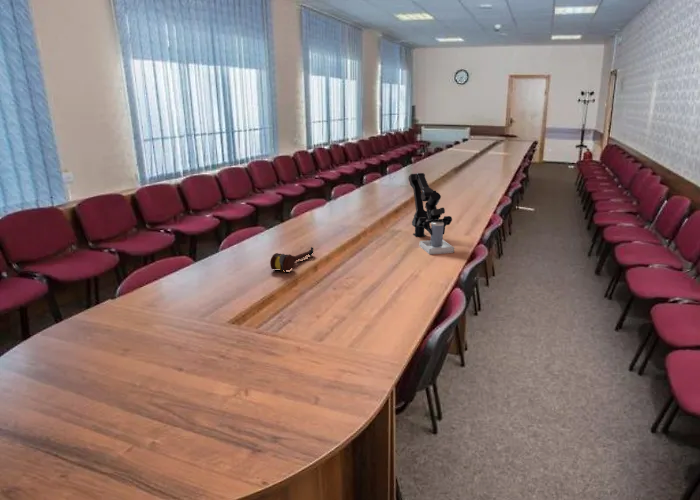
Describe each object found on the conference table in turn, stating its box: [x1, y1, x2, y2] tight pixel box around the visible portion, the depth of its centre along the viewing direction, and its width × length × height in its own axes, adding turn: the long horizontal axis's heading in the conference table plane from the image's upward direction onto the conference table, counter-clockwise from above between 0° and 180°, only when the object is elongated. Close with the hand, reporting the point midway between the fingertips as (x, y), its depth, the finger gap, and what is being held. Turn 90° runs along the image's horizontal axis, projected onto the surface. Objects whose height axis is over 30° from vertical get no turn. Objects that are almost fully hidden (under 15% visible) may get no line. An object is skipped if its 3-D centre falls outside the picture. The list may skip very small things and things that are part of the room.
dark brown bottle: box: [269, 246, 314, 271], centre depth 243 cm, size 10×34×10 cm
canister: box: [429, 221, 444, 247], centre depth 264 cm, size 7×7×13 cm
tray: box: [418, 239, 455, 255], centre depth 267 cm, size 16×14×3 cm
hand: (437, 234), depth 263 cm, fingers closed on canister, 6 cm apart
